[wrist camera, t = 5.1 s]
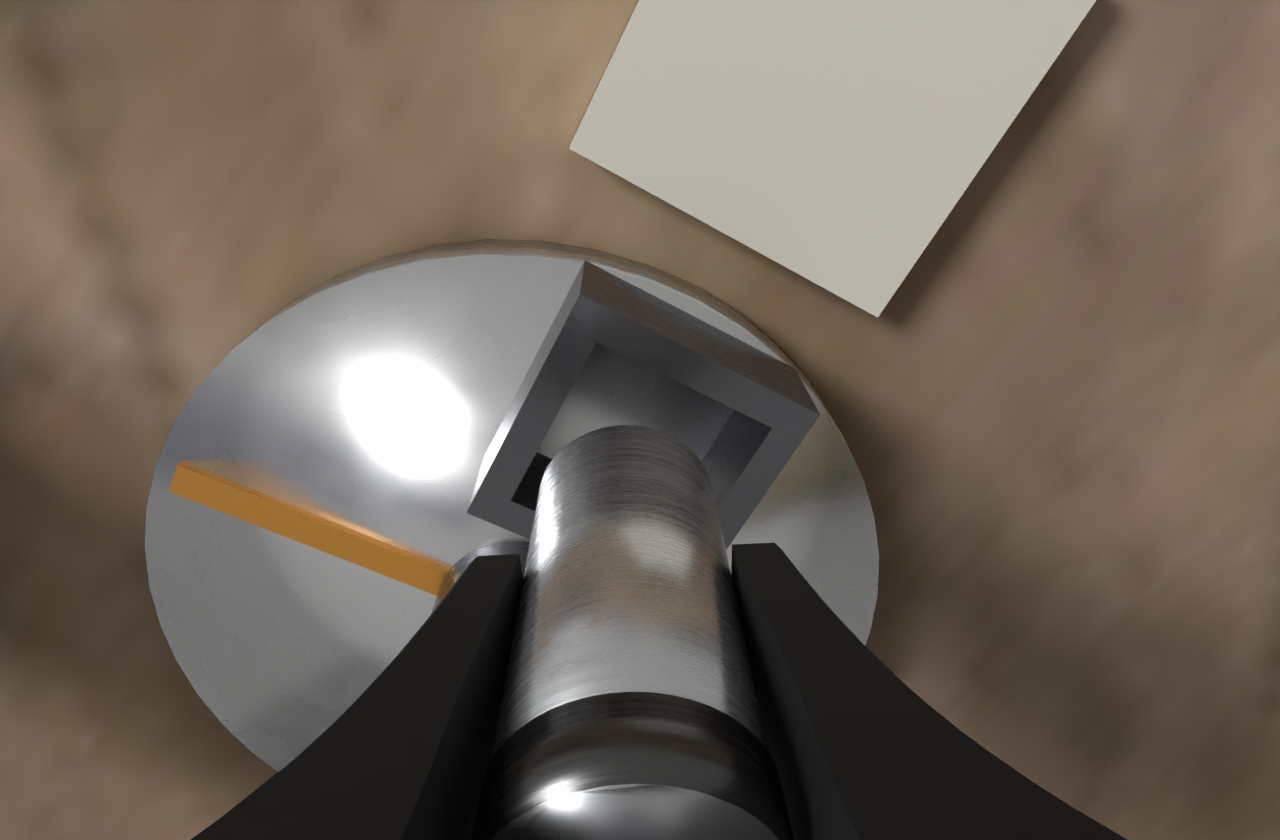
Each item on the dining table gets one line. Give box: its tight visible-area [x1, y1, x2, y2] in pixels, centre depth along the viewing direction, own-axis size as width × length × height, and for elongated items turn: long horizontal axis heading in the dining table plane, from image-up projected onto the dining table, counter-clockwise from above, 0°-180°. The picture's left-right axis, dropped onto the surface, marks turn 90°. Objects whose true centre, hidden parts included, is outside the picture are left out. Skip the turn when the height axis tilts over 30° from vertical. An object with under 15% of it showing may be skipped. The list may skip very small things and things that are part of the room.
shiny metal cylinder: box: [471, 425, 794, 840], centre depth 10 cm, size 3×3×7 cm
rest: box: [569, 0, 1096, 317], centre depth 17 cm, size 8×8×1 cm
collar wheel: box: [145, 239, 879, 772], centre depth 21 cm, size 19×19×4 cm
